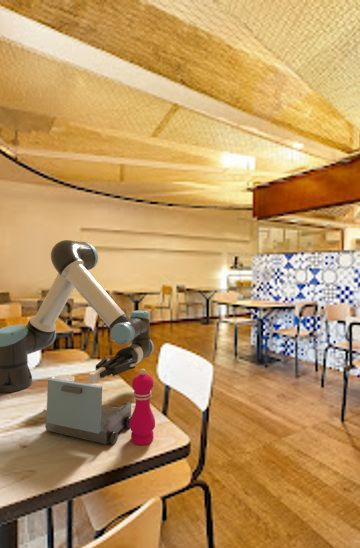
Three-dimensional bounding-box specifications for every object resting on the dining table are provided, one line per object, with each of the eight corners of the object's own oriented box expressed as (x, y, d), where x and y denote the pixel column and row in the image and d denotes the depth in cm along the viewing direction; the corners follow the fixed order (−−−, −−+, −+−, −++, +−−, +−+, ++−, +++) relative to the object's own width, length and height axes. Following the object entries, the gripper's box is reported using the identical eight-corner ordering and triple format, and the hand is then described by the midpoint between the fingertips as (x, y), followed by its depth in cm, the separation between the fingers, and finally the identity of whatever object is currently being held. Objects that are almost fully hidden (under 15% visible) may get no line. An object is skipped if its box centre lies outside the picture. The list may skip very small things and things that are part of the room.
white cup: (66, 414, 101) (66, 384, 101) (44, 411, 103) (44, 381, 102) (78, 403, 109) (78, 375, 108) (58, 401, 110) (58, 373, 110)
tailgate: (43, 423, 86) (45, 380, 86) (49, 420, 88) (50, 378, 88) (96, 435, 81) (97, 389, 81) (100, 431, 83) (102, 386, 83)
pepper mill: (131, 448, 83) (131, 374, 82) (127, 434, 89) (128, 365, 89) (157, 444, 85) (158, 372, 84) (152, 430, 92) (153, 363, 91)
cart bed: (42, 432, 90) (42, 410, 89) (74, 411, 103) (74, 392, 103) (110, 448, 82) (110, 424, 82) (134, 423, 96) (134, 402, 95)
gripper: (145, 368, 112) (110, 394, 90) (113, 364, 117) (73, 388, 94) (145, 348, 112) (110, 368, 90) (113, 345, 116) (72, 363, 94)
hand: (91, 378), depth 92 cm, fingers closed
